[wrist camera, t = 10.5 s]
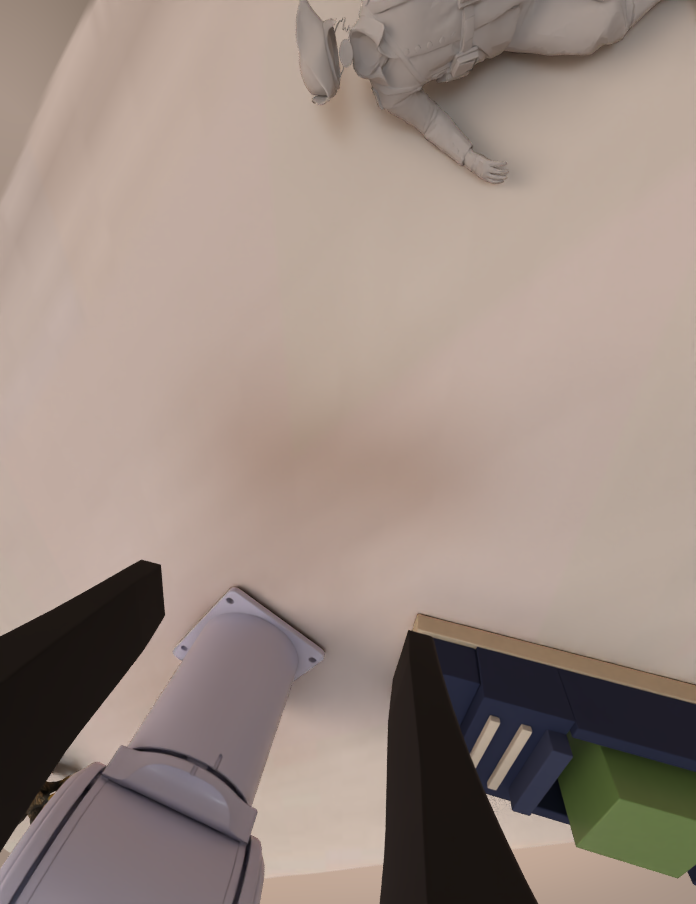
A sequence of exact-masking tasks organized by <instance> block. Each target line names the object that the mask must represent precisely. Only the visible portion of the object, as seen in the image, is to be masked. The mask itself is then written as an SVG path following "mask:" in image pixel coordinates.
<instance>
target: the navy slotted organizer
mask: <svg viewBox="0 0 696 904" xmlns="http://www.w3.org/2000/svg"><path fill="white" fill-rule="evenodd" d="M412 631H414V632H418V633H422V634H426V635H429V636H432V638H433V639H434V642H435V647H436V651H437V655H438V659H439V663H440V666H441V670H442V674H443V677H444V680H445V684H446V687H447V690H448V693H449V697H450V700H451V703H452V706H453V709H454V712H455V714H456V717H457V720H458V723H459V726H460V729H461V732H462V734H463V737H464V740H465V743H466V745H467V748H468V751H469V753H470V756H471V758H472V761H473V763H474V766H475V768H476V771H477V773H478V776H479V778H480V781H481V783H482V786H483V788H484V790H485V793H486V794H489V795H492V796H495V797H499V798H502V799H505V800H509V801H511V807H512V810H513V811H515V812H518V813H522V814H525V815H528V816H530V815H531V814H532V813H533V814H536V815H539V816H542V817H546V818H549V819H552V820H556V821H559V822H562V823H566V824H569V825H570V822H569V819H568V815H567V811H566V808H565V804H564V800H563V797H562V793H561V789H560V786H559V782H558V777H559V776H560V774H561V773H562V772H563V770H564V769H565V767H566V766H567V765H568V763H569V762H570V761H571V759H572V758H573V754H572V751H571V748H570V745H569V741H568V738H567V733H568V732H569V730H570V732H571V736H572V737H573V738H576V739H580V740H583V741H587V742H590V743H594V744H597V745H601V746H605V747H608V748H612V749H615V750H619V751H622V752H626V753H630V754H633V755H637V756H640V757H644V758H647V759H651V760H655V761H658V762H662V763H665V764H669V765H672V766H676V767H680V768H683V769H687V770H690V771H694V772H696V685H692V684H688V683H684V682H680V681H676V680H673V679H669V678H665V677H661V676H657V675H653V674H649V673H645V672H642V671H638V670H634V669H630V668H626V667H622V666H618V665H614V664H611V663H607V662H603V661H599V660H595V659H591V658H587V657H583V656H580V655H576V654H572V653H568V652H564V651H560V650H556V649H552V648H549V647H545V646H541V645H537V644H533V643H529V642H525V641H521V640H518V639H514V638H510V637H506V636H502V635H498V634H494V633H490V632H487V631H483V630H479V629H475V628H471V627H467V626H463V625H459V624H456V623H452V622H448V621H444V620H440V619H436V618H432V617H428V616H425V615H421V614H418V615H417V617H416V621H415V624H414V627H413V630H412ZM390 701H391V700H390ZM687 872H688V874H689V876H690V878H691V881H692V883H693V884H694V885H696V865H695V866H693V867H692V868H691V869H690V870H688V871H687Z"/></svg>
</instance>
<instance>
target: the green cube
mask: <svg viewBox="0 0 696 904" xmlns="http://www.w3.org/2000/svg"><path fill="white" fill-rule="evenodd" d="M567 738H568V741H569V745H570V748H571V751H572V754H573V758H572V759H571V761H570V762H569V763H568V765H567V766H566V767H565V769H564V770H563V772H562V773H561V774H560V776H559V777H558V782H559V786H560V789H561V793H562V797H563V800H564V804H565V808H566V811H567V815H568V819H569V822H570V826H571V830H572V834H573V837H574V841H575V845H576V847H578V848H581V849H585V850H588V851H591V852H594V853H598V854H600V855H604V856H607V857H610V858H614V859H617V860H620V861H623V862H627V863H630V864H633V865H636V866H639V867H643V868H646V869H649V870H653V871H656V872H659V873H662V874H665V875H668V876H672V877H675V878H679V877H680V876H682V875H683V874H684V873H686V872H687V871H688V870H690V869H691V868H692V867H693V866H695V865H696V772H694V771H690V770H687V769H683V768H680V767H676V766H672V765H669V764H665V763H662V762H658V761H655V760H651V759H647V758H644V757H640V756H637V755H633V754H630V753H626V752H622V751H619V750H615V749H612V748H608V747H605V746H601V745H597V744H594V743H590V742H587V741H583V740H580V739H576V738H573V737H572V736H571V732H570V730H569V732H568V733H567Z"/></svg>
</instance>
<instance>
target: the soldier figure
mask: <svg viewBox="0 0 696 904" xmlns="http://www.w3.org/2000/svg"><path fill="white" fill-rule="evenodd" d="M660 1H661V0H362V6H361V8H360V11H359V19H358V20H357V21H356V23H355V25H354V26H353V27H352V29H351V30H350V26H348V29H349V37H350V41H349V39H344V40H343V41H342V42H341V45H340V49H339V56H340V60H341V62H342V65H343V69H344V67H349V66H350V65H351V63H352V60H353V67H354V70H355V71H356V73H357V74H358V76H360V77H361V78H364V79H369V80H370V82H371V84H372V88H371V89H372V90H373V93H374V95H375V97H376V100H377V104H378V106H379V108H380V109H381V110H383V109H386V110H387V111H388V112H390V113H392V114H393V115H395V116H397V117H398V118H401V119H403V120H404V121H405V122H406V123H408V124H411V125H413V126H414V127H415V128H416V129H418V130H419V131H420V132H421V133H422V134H423V135H424V137H425V138H426V139H427V140H429V141H430V142H432V143H433V144H434V145H436V146H437V147H438V148H439V149H441V150H442V151H443V152H444V153H446V154H447V155H449V156H450V157H451V158H452V159H453V160H455V161H456V162H458V163H459V164H460V165H461V166H463V165H465V166H466V167H467V168H468V169H469V170H470V171H471V172H474V173H475V174H476V175H477V176H478V177H480V178H481V179H483V180H485V181H487V182H490V183H503V182H504V180H503V179H506V178H507V176H505V175H495V174H506V173H508V172H509V171H508V170H500V169H496V168H494V167H498V166H505V165H507V162H498V161H492V160H490V159H488V158H486V157H485V156H484V155H482V154H478V153H474V152H473V145H472V143H471V141H470V140H469V139H468V138H467V137H466V136H465V135H464V134H463V132H462V131H461V130H460V129H459V128H457V126H456V124H455V123H454V122H453V120H452V119H451V118H450V117H449V116H448V114H447V113H446V112H444V111H443V110H442V109H441V108H440V107H439V106H438V104H437V103H435V102H434V101H432V100H431V99H430V97H429V96H428V94H427V93H425V92H424V91H423V89H422V88H421V87H422V86H423V85H424V84H426V83H427V82H429V81H431V80H435V79H437V82H447V81H451V80H455V79H459V78H462V77H463V76H466V75H468V74H469V71H471V70H472V69H473V67H474V65H476V64H477V63H479V62H482V61H484V59H485V58H490V59H491V58H493V57H495V56H497V55H500V54H501V53H502V52H503V51H510V52H519V53H535V54H542V55H547V56H553V55H591V54H593V53H594V52H595V51H596V50H597V49H599V48H600V47H601V46H602V45H605V44H607V45H610V44H613V43H616V42H619V41H620V40H622V39H623V37H624V36H625V34H626V32H627V30H629V29H630V28H631V27H632V26H633V25H634V24H635V23H636V22H637V21H638V20H639V19H640V18H641V17H642V16H643V15H644V14H645V13H646V12H647V11H649V10H650V9H651V8H652V7H653V6H654V5H656V4H657V3H658V2H660ZM343 18H345V17H343ZM343 18H342V20H343ZM342 20H340V21H341V22H342ZM340 21H339V22H340ZM339 22H338V24H339ZM335 23H336V19H335V20H332V19H328V20H325V21H324V22H323V21H322V20H321V19H320V17H319V16H318V15H317V14H316V13H315V12H314V10H313V9H312V8H311V6H310V5H309V3H308V1H307V0H300V1H299V6H298V11H297V16H296V41H297V47H298V50H299V65H300V71H301V75H302V78H303V81H304V83H305V85H306V87H307V89H308V90H309V92H310V93H311V94H313V95H318V96H315V97H314V98H312V102H313V103H317V104H318V105H323V104H325V103H326V102H327V101H329V100H330V98H332V97H334V96H335V94H336V92H337V89H339V88H340V87H339V86H340V77H341V75H342V72H343V70H342V72H341V75H340V67H339V58H338V50H337V43H336V36H335V32H334V28H333V26H334V25H335ZM344 23H345V19H344ZM338 24H337V26H338ZM337 26H336V29H337ZM336 29H335V31H336ZM344 29H345V30H346V27H344V24H343V30H344ZM348 29H347V31H348ZM347 31H346V32H347ZM492 166H494V167H492Z"/></svg>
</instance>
